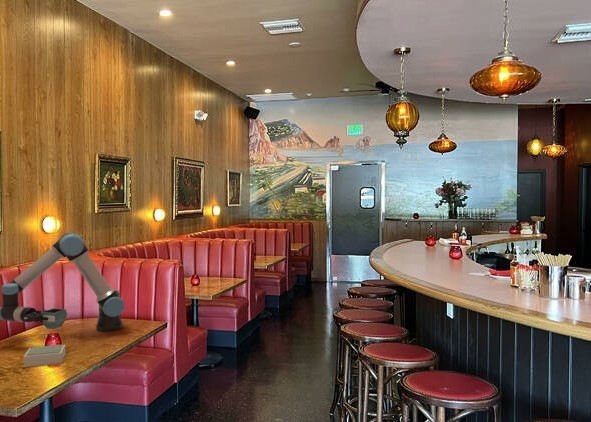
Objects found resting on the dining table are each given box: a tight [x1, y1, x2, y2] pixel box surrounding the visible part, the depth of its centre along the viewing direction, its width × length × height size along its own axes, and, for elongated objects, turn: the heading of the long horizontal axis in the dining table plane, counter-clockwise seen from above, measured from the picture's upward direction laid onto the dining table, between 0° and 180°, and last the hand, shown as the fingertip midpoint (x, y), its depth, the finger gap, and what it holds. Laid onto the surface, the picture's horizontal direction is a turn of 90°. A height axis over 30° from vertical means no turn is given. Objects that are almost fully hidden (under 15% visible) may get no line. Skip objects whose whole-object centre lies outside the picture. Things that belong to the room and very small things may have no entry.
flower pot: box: [41, 307, 67, 330], centre depth 248 cm, size 9×9×9 cm
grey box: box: [23, 344, 66, 368], centre depth 233 cm, size 16×14×6 cm
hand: (61, 316), depth 247 cm, fingers closed on flower pot, 9 cm apart
